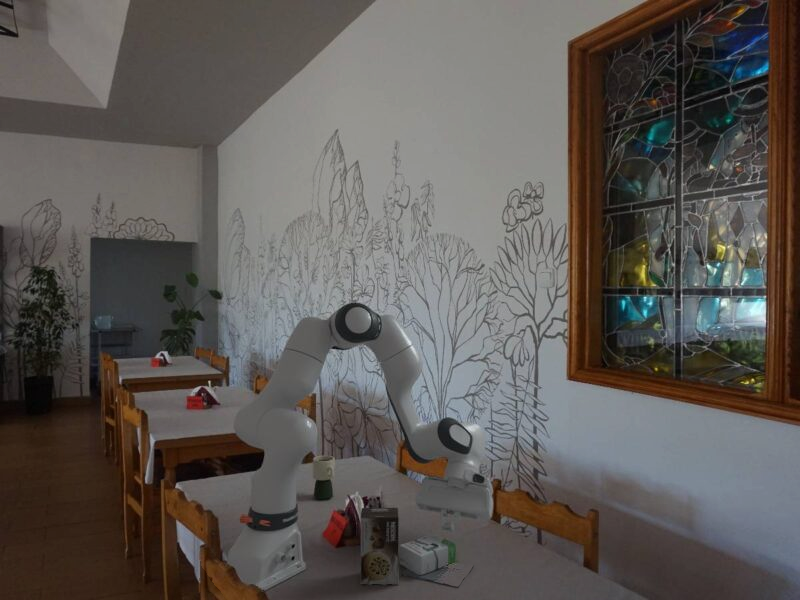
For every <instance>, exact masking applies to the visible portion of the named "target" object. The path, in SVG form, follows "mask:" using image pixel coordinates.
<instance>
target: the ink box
mask: <svg viewBox="0 0 800 600" xmlns="http://www.w3.org/2000/svg"><path fill="white" fill-rule="evenodd" d="M456 547H457V546H456V543H455V542H452V541H450V540H448V539H446V538H443V537H442V536H439V535H437V534H435V533H432V534H429V535H427V536H424V537H420V538H418V539H414V540H412V541H409V542H405V543H402V544H399V564H400V565H401V566H402V567H404V568H406V570H407V569H409V570H411V571H412V572H414V573H416V574H417V575H423V574H426V573H428V572H431V571H434V570H436V569H439V568H441V567H444V566H447V565H449V564H452V563H455V562H456V561H457V551H456Z"/></svg>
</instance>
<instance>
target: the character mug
mask: <svg viewBox="0 0 800 600" xmlns="http://www.w3.org/2000/svg"><path fill="white" fill-rule="evenodd" d="M335 462H336V461H335V457H334V456H332V455H317V456H314V457H312V478H313V479H314V480H316V481H315V484H314V491H313V498H315V499H318V500H321V499H324V500H327V499H332V498H333V497H334V493H333V490H334V489H333V484H332V483H333V482H332V479H333V478H334V477H335V475H336V473H335V465H336V463H335Z"/></svg>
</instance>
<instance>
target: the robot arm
mask: <svg viewBox="0 0 800 600" xmlns="http://www.w3.org/2000/svg"><path fill="white" fill-rule="evenodd" d="M360 345H364V346H366V348H368V349H369V350H370V351H371V352H372V353H373V354H374V357H375V358H376V360H377V362H378V364H379V366H380V368H381V370H382V372H383V375H384V378H385V379H384V380H385V391H386V395H387V398H388V400H389V403H390V406H391V407H392V410H393V412H394V415H395V417H396V420H397V422H398V424H399V427H400V430H401V432H402V434H403V439H404V442H405V447H406V450H407V453H408V454H409V456H410V457H411V459H413V461H415V462H416V463H419V464H422V465H423V464H424V465H426V464H429V463H431V462H434V461H435V460H437V459H440V458H443V457H444V458H445V459H447V464H446V469H445V471H444V474H443V477H442V476H434V475H428V476H426V477H424V478H422V479H421V483H420V488H419V489H418V492H417V494H416V497H415V504H416V505H417V507H418V509H419V510H424V511H427V512H434V513H439V514H440V518H441V521H442V522H441V524H440V528H441V530H443V531H450V532H454V530H455V527H456V525H457V524H458V523H459V522H460V521H462V517H464V518H468V519H474V520H479V521H485V522H488V521H490V519H492V517H493V512H494V511H493V510H494V498H493V496H492V495H493V494H494V489H493V488H494V487H493V484H492V483H491V480H490V478H488V477H487V476H484V475H483V474H481V473H480V466H481V464H482V462H483V458H484V455H485V451H486V450H485V449H486V443H487V440H486V432H485V431H484V429H483V428H482V427H481V426H480V425H479V424H476V423H475V422H471V421H465V422H460V421H459V420H456V418H454V417H448V416H447V417H444V418H443V417H442V418H441V419H437V420H435V421H433V422H430V423H428V424H425V423H424V422H422V420H421V418H420V415H419V413H418V411H417V409H416V406H415V404H414V402H413V398H412V390H413V387H414V385H415V384H416V382H417V381H418V379H419V377H420V376H421V373H422V371H423V365H424V363H423V359H422V356H421V352H420V350H419V349H418V347H417V346H416V344H415V342H414V341H413V339H412V336H410V334H409V333H408V331H407V330H406V328H405V327H404V326H403V325H402V323H401V321H399V320H398V318H397V317H395V316H394V315H393V314H392V315H391V314H383V315H379V313H377V312H375V311H373V309H371V308H370V307H369V306H367V305H366V304H364V303H361V302H350V303H346V304H344V305H342V306H341V307H340V308H338V309H337V310H335V311H334V312H333V313H332V314H331V315H330V316H329V317H328V318H327V319H321V318H320V317H316V316H306V317H303V318H301V319H300V320H299V322H298V323H297V324H296V326H295V327H294V329H293V331H292V333H291V334H290V335H289V338H288V339H287V342H286V344H285V346H284V348H283V351H282V353H281V355H280V358H279V360H278V362H277V364H276V367H275V369H274V371H273V373H272V375H271V377H270V378H269V381H268V382H267V384H266V385H265V386H264V388H263V389H262V390H261V391H260V392H259V393H258V395H257V396H255V398H253V400H252V401H251V402H249V403H247V404H246V405H244V406H243V407H241V408H240V409H239V410H238V411H237V413H236V415H235V418H234V421H233V430H234V434H236V437H238V439H240V440H241V441H242V442H244V443H245V444H247V445H249V446H251V447H253V448H258V449H260V450H263V451H264V457H263V462H262V464H261V467H259V468H258V469H256V471H254V473H253V474H252V477H251V481H250V482H251V483H250V485H251V491H250V493H251V495H250V497H251V498H250V499H251V501H250V504H251V505H250V507H249V509H248V512H247V514H243V513H242V514H241V515H240V516H239V519H238V521H239V523H240V524H246V525H245V527H244V528H243V530H242V531H241V532H240V535H239V536H238V537H237V539H236V541H235V542H234V543H233V544H232V547H230V549H229V550H228V553H227V557H226V564H227V563H228V564H229V565H231V566H233V567H234V568H235V569H236V571H237V573H238V575H239V577H240V578H241V579H242V580H243V581H244V582H245V583H248V584H254V585H256V586H258V587H259V588H261V589H262V590H264V591H263V592H266V591H267V590H268V589H271V588H273V587H275V586H276V585H279V584H280V583H282V582H284V581H286V580H288V579H289V578H291V577H293V576H295V575H298V574H299V573H301V572H303V571H305V570H306V569H307V563H306V562H305V561H304V558H303V546H302V543H303V542H302V536H301V535H302V534H301V532H300V529H299V527H298V523H297V521H298V519H299V507H298V504H297V488H298V487H297V485H298V477H299V476H298V475H299V471H300V468H301V464H302V462H303V459H304V458H305V457H307V455H308V454H310V453H311V452H312V451H313V449H314V448H315V447H316V444H317V441H318V433H319V431H318V427H317V424H316V422H315V421H314V420H313V419H312V418H311V417H309V416H307V415H305V414H303V413H301V411H296V410H294V409H295V408H296V407H297V405H298V404H299V403H300V402H301V401H303V400H304V399H305V398H308V397H310V395H312V394H313V392H314V390H315V388H316V386H317V382H318V381H319V378H320V376H321V373H322V369H323V368H324V364H325V363H326V359H327V356H328V354H329V353H330V350H336V351H347V350H351V349H354V348H356V347H358V346H360ZM449 515H452V516H454V517H453V518H452V520H451V521H450V520H446V518H448V516H449Z"/></svg>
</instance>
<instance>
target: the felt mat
mask: <svg viewBox="0 0 800 600" xmlns="http://www.w3.org/2000/svg"><path fill="white" fill-rule="evenodd" d="M447 566H448V565H447ZM444 567H445V566H444ZM444 567H441V568H439V569H436V570H434V571H431V572H428V573H426V574H423V575H417V574H416V573H414V572H412V571H411V570H409V569H407V568H406V570H405V571H404V572H403V574H402V576H404V575H405V576H404V577H409V576H410V577H409V578H413V577H415V578H414V579H417V578H421V579H420V580H422V579H426V580H431V581H437V580H439V579H438V578H442V577H441V576H442V574H444V573H445V572H446V571H448V570H447V569H449V568H448V567H445V568H444ZM443 569H444V570H443ZM453 569H455V568H453ZM450 570H451V569H450ZM456 570H458V569H456ZM460 570H461V569H460ZM442 571H443V572H442ZM452 571H454V570H452ZM449 572H450V571H449ZM459 572H460V571H459ZM440 573H441V574H440ZM438 575H440V576H438ZM443 577H445V576H443ZM426 580H425V581H426ZM431 581H430V582H431ZM440 581H442V580H440ZM438 582H439V581H438Z"/></svg>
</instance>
